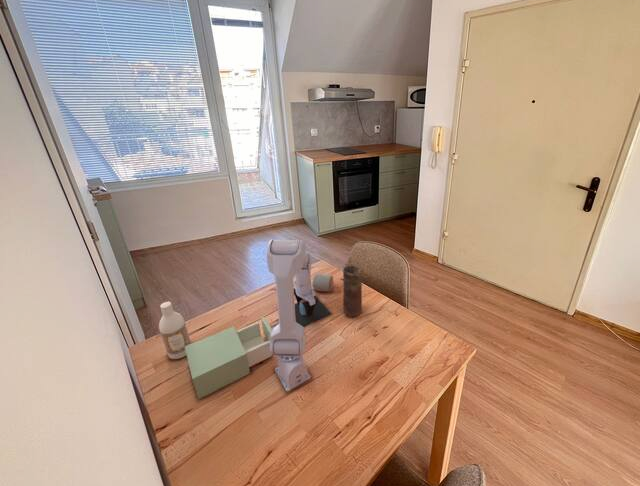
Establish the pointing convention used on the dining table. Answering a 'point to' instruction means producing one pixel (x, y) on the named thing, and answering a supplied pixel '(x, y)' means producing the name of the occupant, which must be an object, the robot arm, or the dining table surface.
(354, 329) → the dining table surface
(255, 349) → the drawer
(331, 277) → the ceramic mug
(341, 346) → the dining table surface
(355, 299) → the dark brown flask
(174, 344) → the bath foam
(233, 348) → the green drawer cabinet
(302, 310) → the bottle
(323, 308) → the mat
